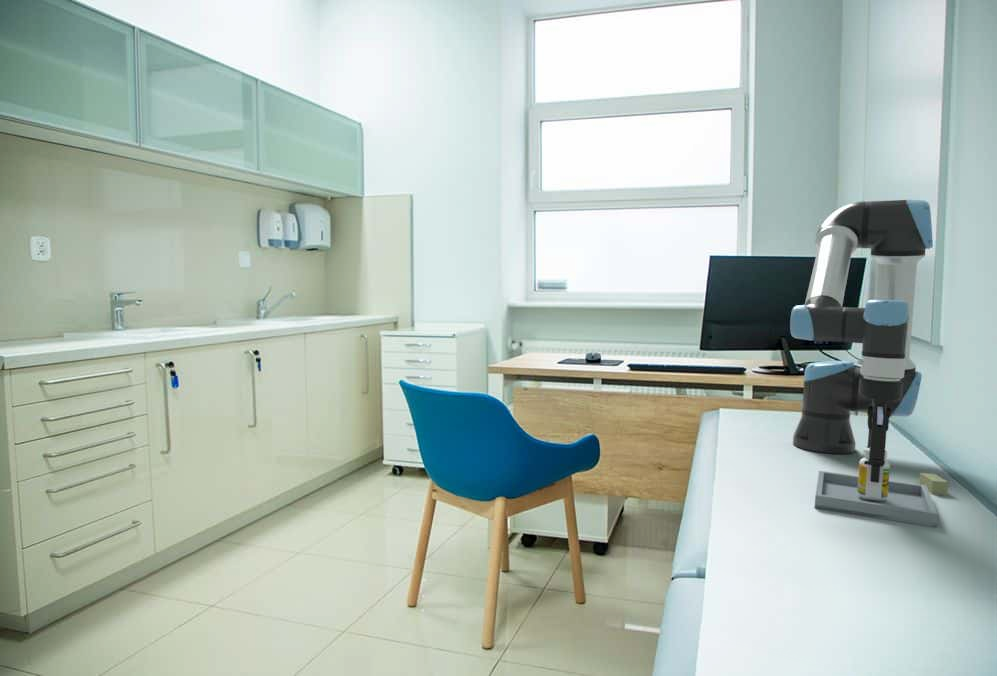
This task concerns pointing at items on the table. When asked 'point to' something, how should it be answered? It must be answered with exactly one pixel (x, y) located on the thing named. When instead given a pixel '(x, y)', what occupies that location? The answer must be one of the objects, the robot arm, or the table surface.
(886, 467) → the supplement bottle
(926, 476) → the olive brick
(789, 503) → the table surface
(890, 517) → the slate tray
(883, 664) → the table surface
